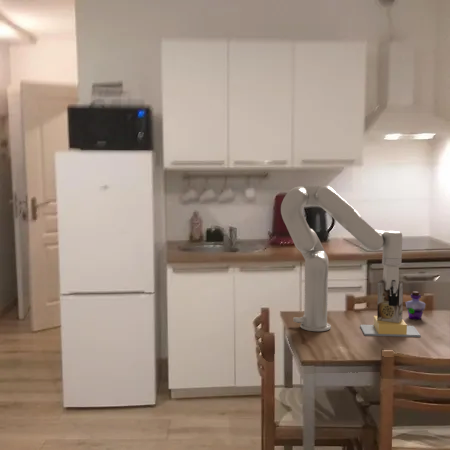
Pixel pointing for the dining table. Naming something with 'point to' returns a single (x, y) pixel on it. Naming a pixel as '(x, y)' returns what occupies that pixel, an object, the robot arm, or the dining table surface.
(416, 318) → the potion bottle
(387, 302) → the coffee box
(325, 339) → the dining table surface
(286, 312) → the dining table surface
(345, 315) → the dining table surface
